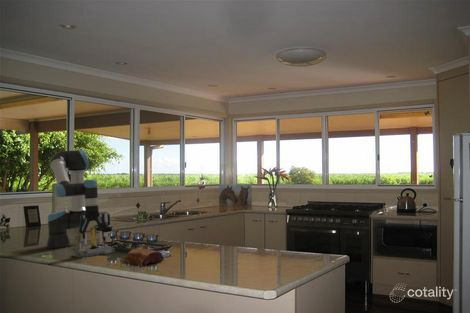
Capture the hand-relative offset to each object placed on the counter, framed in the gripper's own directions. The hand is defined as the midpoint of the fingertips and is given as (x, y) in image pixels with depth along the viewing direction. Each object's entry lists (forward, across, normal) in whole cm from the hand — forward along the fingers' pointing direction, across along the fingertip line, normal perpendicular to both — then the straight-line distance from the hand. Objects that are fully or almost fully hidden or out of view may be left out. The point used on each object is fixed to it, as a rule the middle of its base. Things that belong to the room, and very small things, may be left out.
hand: (93, 243), depth 270 cm
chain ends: (+6, 0, 0) cm, 6 cm away
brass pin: (+6, 0, 0) cm, 6 cm away
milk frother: (+7, +32, +116) cm, 121 cm away
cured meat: (+7, +16, -42) cm, 45 cm away
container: (+7, +14, +22) cm, 27 cm away
